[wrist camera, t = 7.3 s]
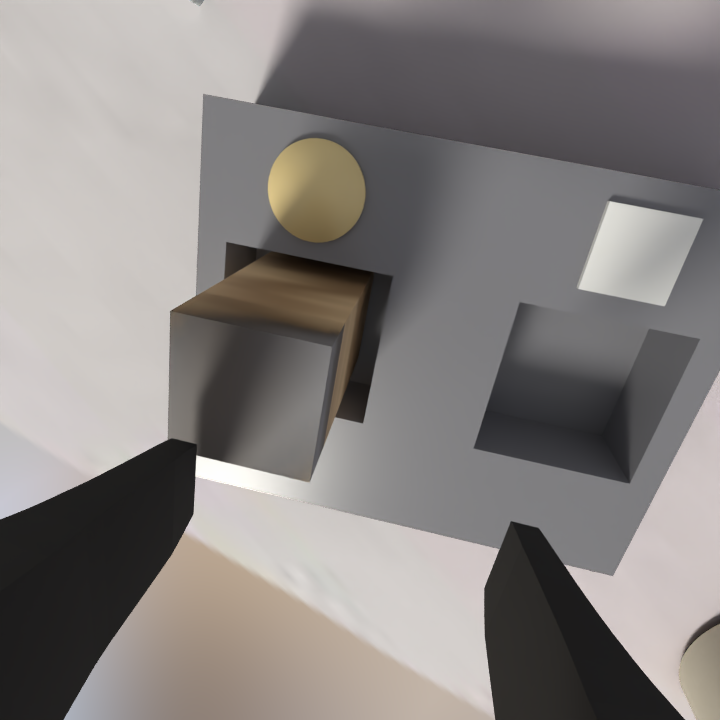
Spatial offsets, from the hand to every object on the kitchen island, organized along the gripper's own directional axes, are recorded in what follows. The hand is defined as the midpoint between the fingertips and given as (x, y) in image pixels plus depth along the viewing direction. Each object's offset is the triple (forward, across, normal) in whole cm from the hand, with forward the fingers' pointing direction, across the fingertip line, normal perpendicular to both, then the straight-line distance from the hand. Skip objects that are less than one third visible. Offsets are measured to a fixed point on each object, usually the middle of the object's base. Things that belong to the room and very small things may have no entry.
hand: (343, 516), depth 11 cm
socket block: (+10, -2, -2) cm, 10 cm away
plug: (+9, +3, -2) cm, 9 cm away
